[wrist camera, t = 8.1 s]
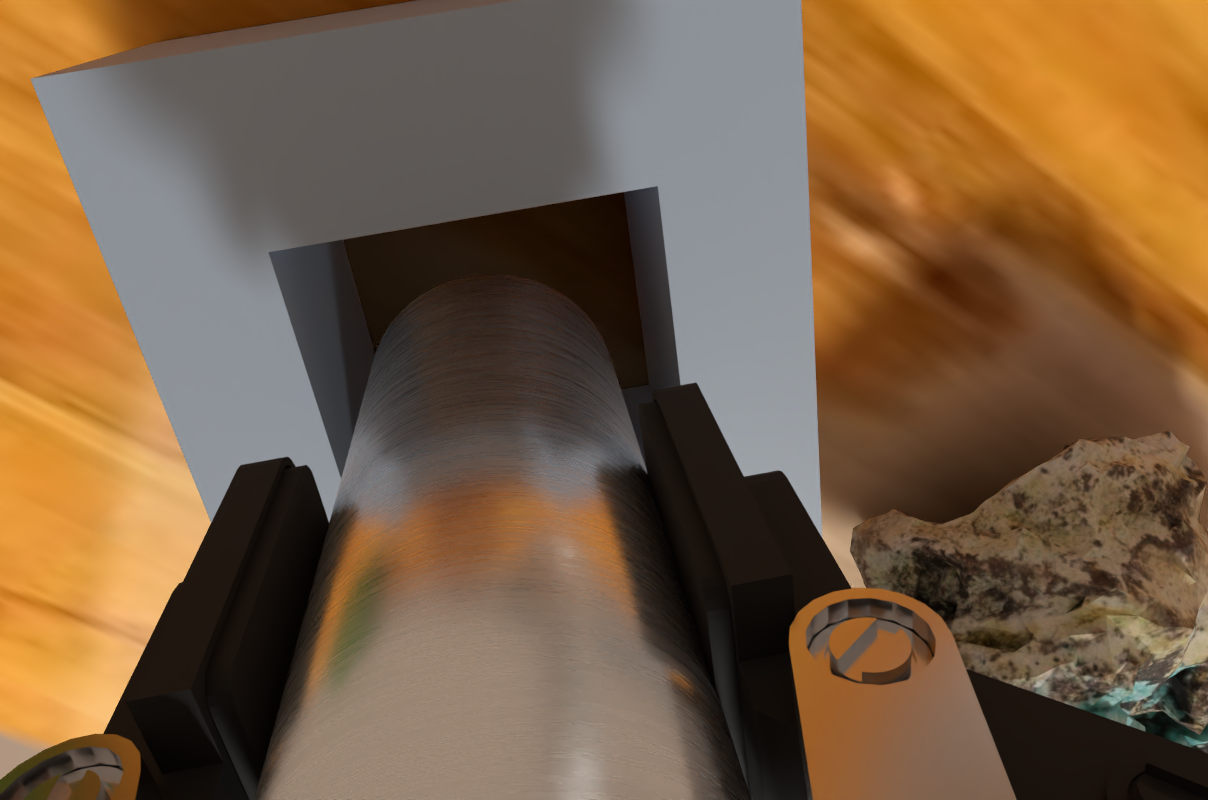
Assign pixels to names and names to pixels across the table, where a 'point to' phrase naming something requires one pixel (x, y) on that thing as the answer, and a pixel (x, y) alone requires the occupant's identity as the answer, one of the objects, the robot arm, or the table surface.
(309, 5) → the table surface
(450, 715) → the long pin
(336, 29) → the hole block
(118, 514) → the table surface
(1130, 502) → the mineral specimen
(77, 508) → the table surface
